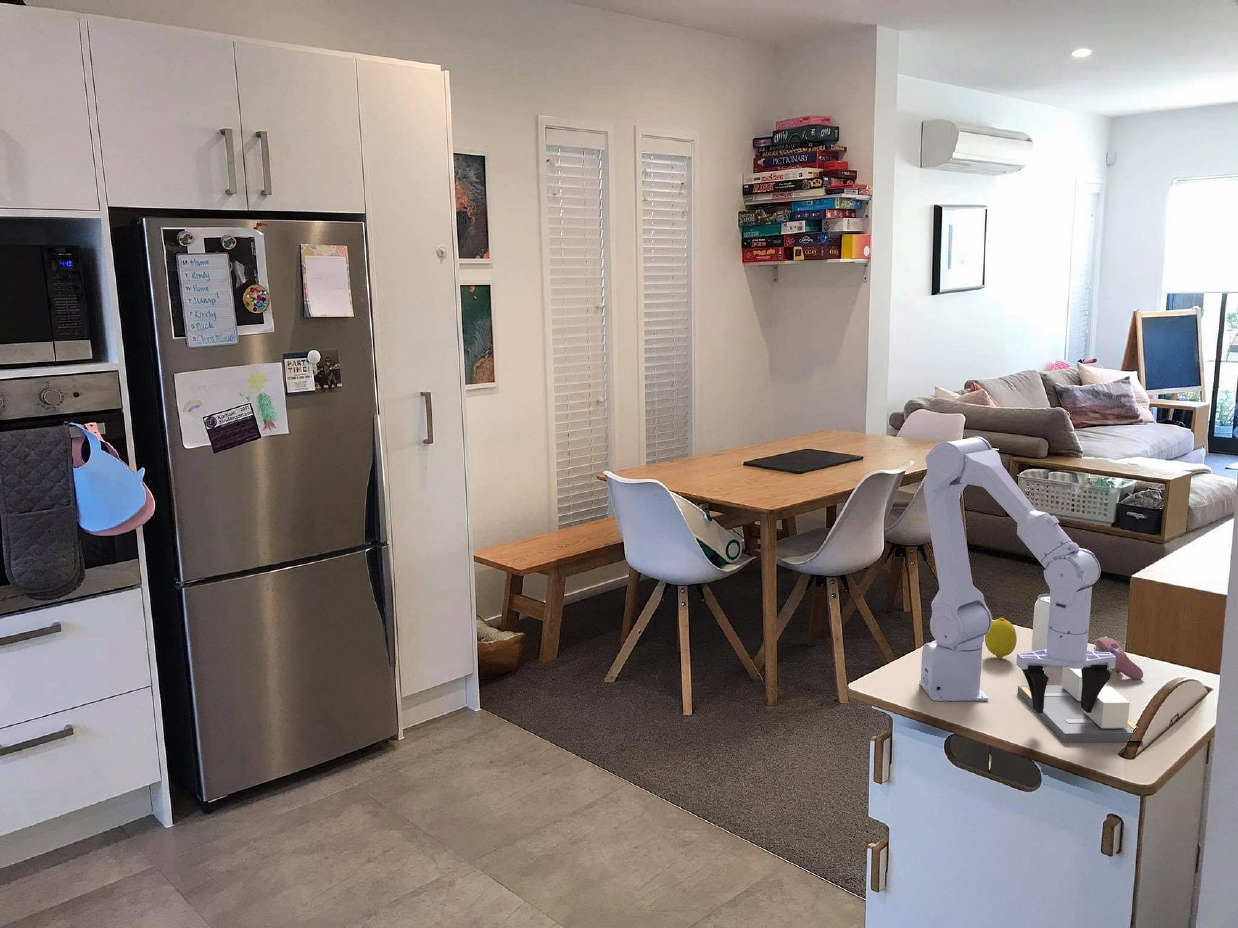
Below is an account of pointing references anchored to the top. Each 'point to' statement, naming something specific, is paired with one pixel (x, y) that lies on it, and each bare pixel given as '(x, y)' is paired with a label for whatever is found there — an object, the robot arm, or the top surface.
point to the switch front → (1110, 709)
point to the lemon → (1001, 638)
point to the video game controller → (1118, 658)
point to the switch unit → (1073, 718)
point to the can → (1041, 623)
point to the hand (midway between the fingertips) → (1062, 710)
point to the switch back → (1072, 682)
